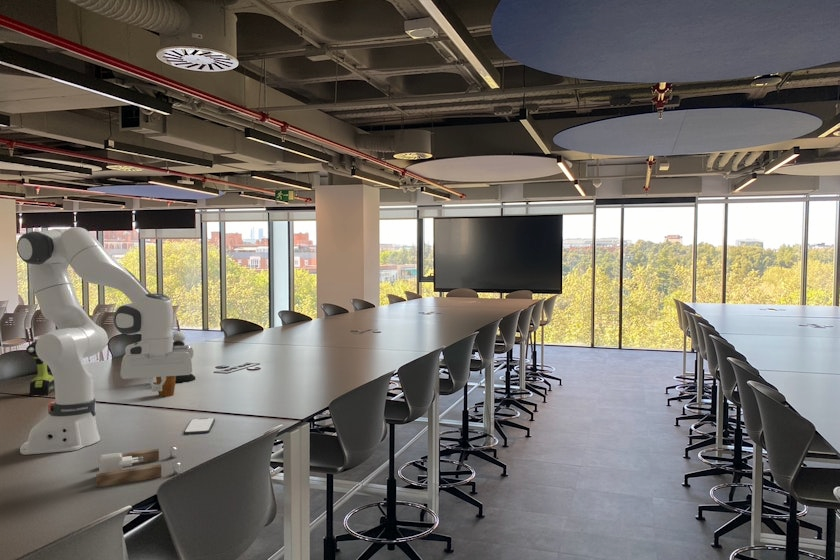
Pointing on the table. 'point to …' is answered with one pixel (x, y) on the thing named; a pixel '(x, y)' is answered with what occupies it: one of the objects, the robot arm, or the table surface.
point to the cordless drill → (40, 375)
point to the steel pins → (176, 464)
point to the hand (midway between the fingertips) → (157, 390)
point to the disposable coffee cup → (167, 386)
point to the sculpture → (179, 341)
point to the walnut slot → (132, 470)
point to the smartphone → (199, 426)
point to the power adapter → (115, 462)
